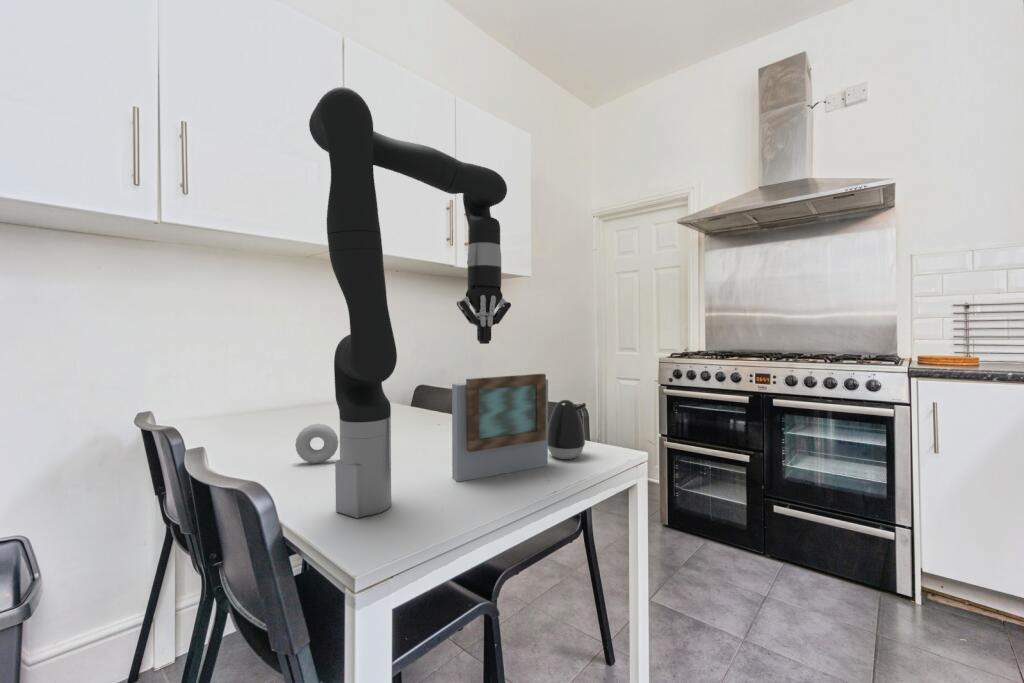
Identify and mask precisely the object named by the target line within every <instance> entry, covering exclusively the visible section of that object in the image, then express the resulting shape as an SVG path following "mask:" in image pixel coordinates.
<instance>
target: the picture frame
mask: <svg viewBox="0 0 1024 683" xmlns="http://www.w3.org/2000/svg"><path fill="white" fill-rule="evenodd" d="M546 377H547V375H546V373H533V374H532V373H531V374H520V375H515V374H514V375H504V376H502V375H501V376H488V377H487V376H486V377H478V378H477V377H476V378H475V377H474V378H472V377H471V378H466V379H465V383H466V418H467V451H469V452H474V451H480V450H486V449H493V448H499V447H505V446H512V445H518V444H525V443H531V442H537V441H544V440H546V379H547V378H546Z"/></svg>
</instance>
